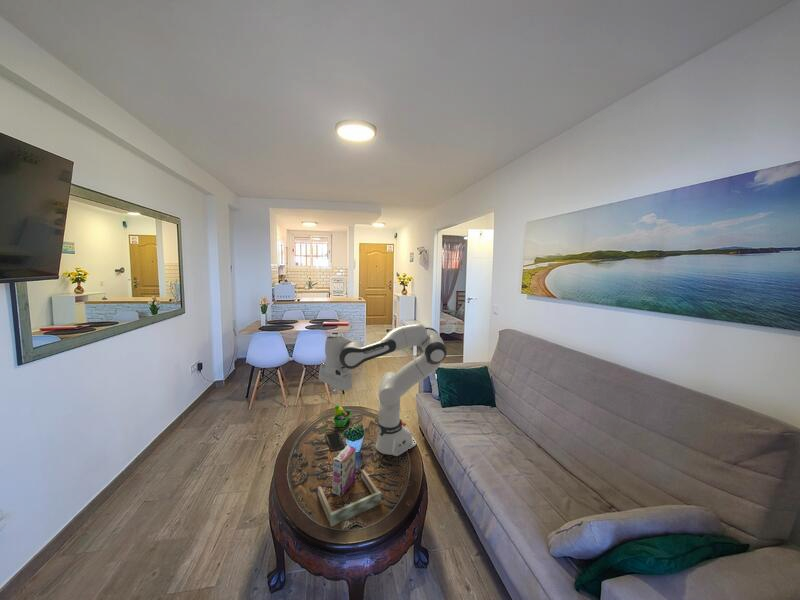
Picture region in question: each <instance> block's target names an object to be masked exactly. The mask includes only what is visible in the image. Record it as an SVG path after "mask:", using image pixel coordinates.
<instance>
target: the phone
mask: <svg viewBox="0 0 800 600" xmlns="http://www.w3.org/2000/svg"><path fill="white" fill-rule="evenodd" d="M324 437H325V438H324V439H325V440H326V443H327V446H328V449H329V451H330V452H335V451H338V450H339V451H340V450H343V449H344V448H345V447H346V446H345V443H344V442H343V439H342V437H341V435H340V432H339V431H334V432H330V433H326V434H325V435H324Z"/></svg>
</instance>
